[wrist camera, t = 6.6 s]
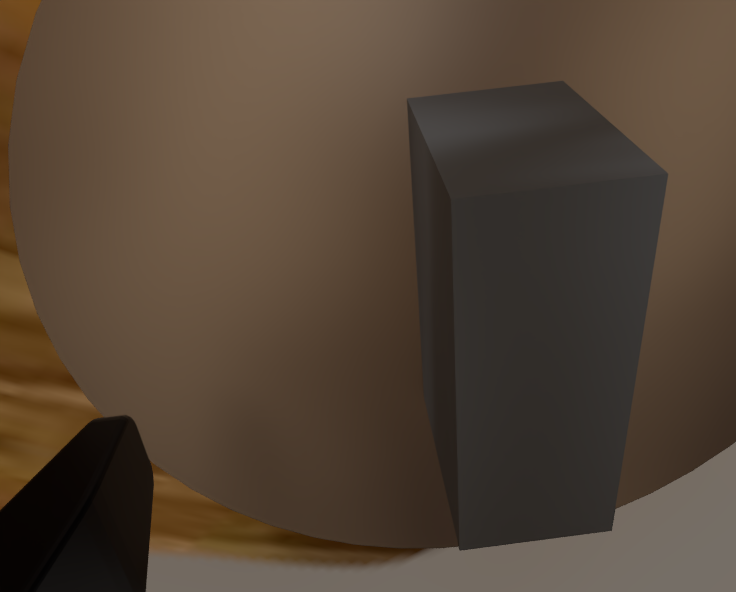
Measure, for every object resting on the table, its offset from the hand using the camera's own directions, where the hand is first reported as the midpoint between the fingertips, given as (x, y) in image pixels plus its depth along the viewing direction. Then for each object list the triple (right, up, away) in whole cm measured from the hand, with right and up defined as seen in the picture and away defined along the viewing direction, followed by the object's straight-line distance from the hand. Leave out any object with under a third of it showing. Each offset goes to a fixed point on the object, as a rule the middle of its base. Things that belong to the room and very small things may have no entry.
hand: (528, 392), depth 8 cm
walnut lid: (0, +2, +3) cm, 4 cm away
